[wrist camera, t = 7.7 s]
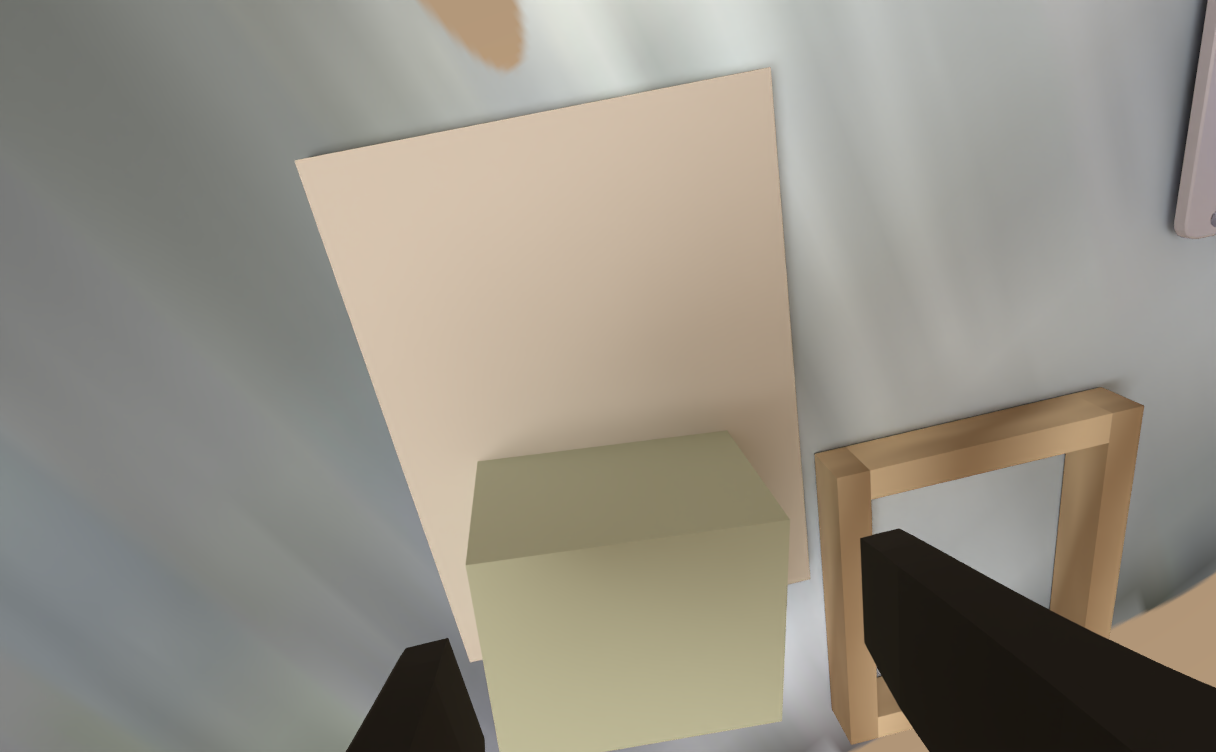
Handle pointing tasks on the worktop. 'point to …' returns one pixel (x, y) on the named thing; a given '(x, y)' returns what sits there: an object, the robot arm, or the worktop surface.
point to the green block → (628, 593)
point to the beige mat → (570, 292)
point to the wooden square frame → (854, 475)
